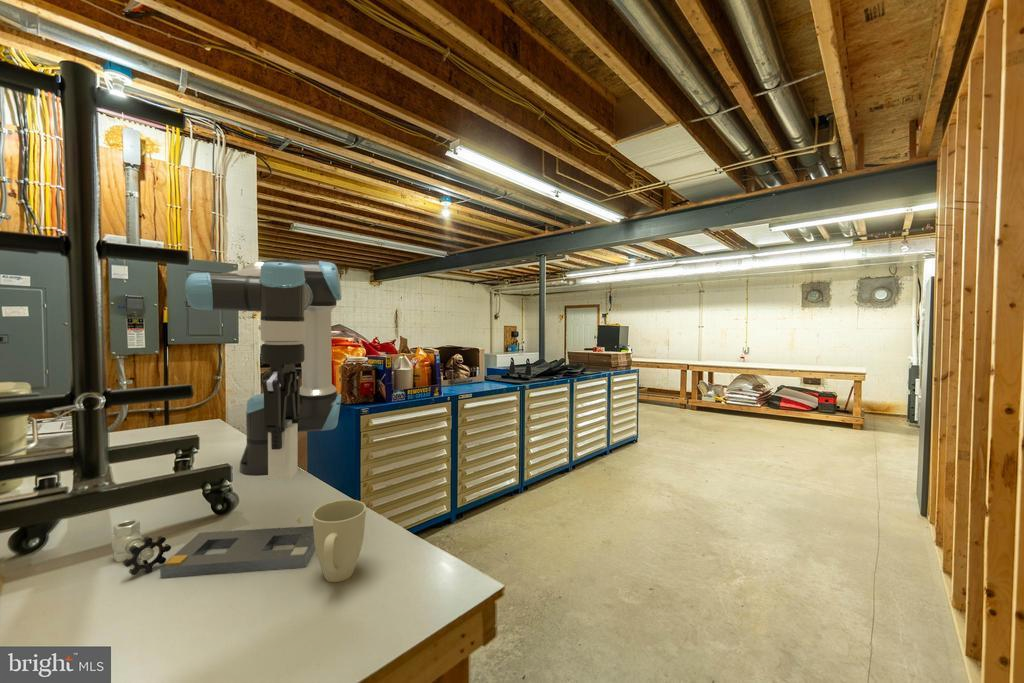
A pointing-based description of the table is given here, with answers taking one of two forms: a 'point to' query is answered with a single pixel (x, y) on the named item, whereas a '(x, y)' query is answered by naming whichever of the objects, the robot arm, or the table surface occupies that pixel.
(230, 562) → the grey slotted tray
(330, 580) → the mug
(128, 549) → the valve
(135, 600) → the table surface
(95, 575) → the table surface
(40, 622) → the table surface
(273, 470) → the plug
